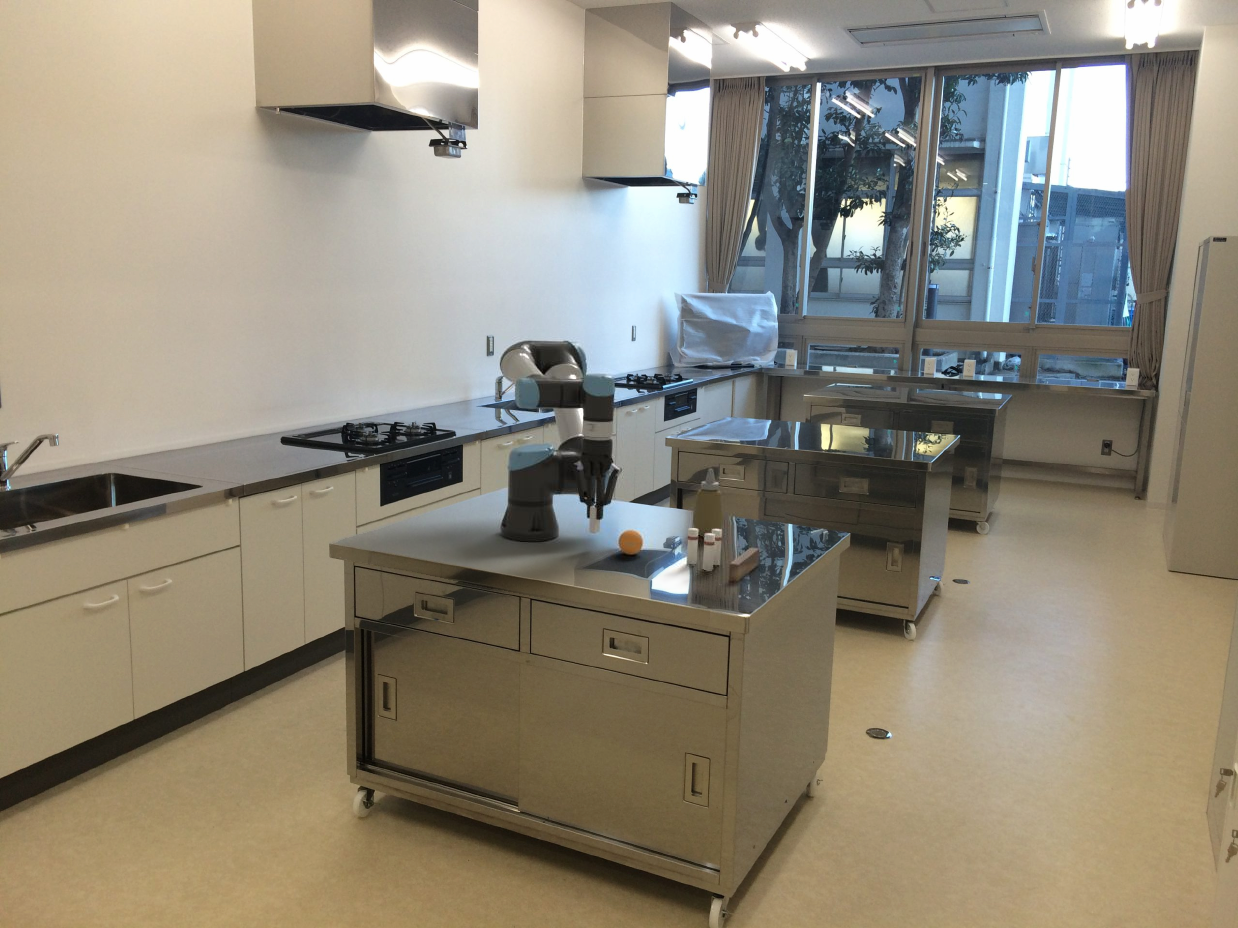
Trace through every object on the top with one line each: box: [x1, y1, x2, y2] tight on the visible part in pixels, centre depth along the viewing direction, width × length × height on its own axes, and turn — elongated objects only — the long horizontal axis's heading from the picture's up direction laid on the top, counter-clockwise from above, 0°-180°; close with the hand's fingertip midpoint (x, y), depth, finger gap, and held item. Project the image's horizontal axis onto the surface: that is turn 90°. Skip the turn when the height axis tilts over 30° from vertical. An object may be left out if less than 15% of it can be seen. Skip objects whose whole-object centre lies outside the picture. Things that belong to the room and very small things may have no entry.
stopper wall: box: [728, 547, 760, 582], centre depth 227 cm, size 2×16×4 cm, turn 156°
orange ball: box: [617, 529, 644, 555], centre depth 239 cm, size 6×6×6 cm
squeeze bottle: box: [692, 468, 724, 537], centre depth 259 cm, size 8×8×18 cm
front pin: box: [686, 527, 699, 565], centre depth 232 cm, size 2×2×8 cm
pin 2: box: [712, 528, 723, 566], centre depth 232 cm, size 2×2×8 cm
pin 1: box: [702, 533, 715, 572], centre depth 228 cm, size 2×2×8 cm
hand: (594, 531), depth 242 cm, fingers closed
